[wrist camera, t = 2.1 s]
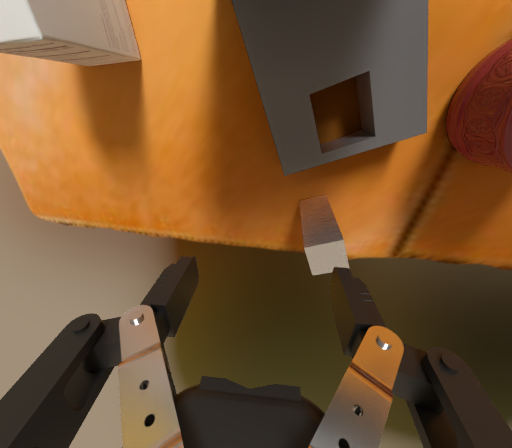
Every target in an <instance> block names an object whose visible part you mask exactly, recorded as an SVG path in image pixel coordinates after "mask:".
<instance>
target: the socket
mask: <svg viewBox="0 0 512 448" xmlns="http://www.w3.org/2000/svg"><path fill="white" fill-rule="evenodd" d="M232 3H233V7H234V10H235V13H236V17H237V20H238V23H239V26H240V30H241V33H242V36H243V40H244V43H245V46H246V50H247V53H248V56H249V60H250V63H251V66H252V70H253V73H254V76H255V80H256V83H257V86H258V90H259V93H260V96H261V99H262V103H263V106H264V109H265V113H266V116H267V119H268V123H269V126H270V129H271V133H272V136H273V139H274V143H275V146H276V149H277V153H278V156H279V159H280V162H281V166H282V169H283V172H284V176H286V175H289V174H293V173H296V172H299V171H302V170H306V169H309V168H312V167H316V166H319V165H322V164H325V163H329V162H332V161H335V160H339V159H342V158H345V157H348V156H352V155H355V154H358V153H361V152H365V151H368V150H371V149H375V148H378V147H381V146H384V145H388V144H391V143H394V142H398V141H401V140H404V139H407V138H411V137H414V136H417V135H421V134H424V133H427V65H428V0H232ZM352 77H355V78H356V86H357V94H358V103H359V111H360V119H361V128H362V131H359V132H356V133H353V134H350V135H347V136H344V137H341V138H338V139H335V140H332V141H329V142H326V143H323V144H320V143H319V138H318V133H317V128H316V124H315V119H314V114H313V109H312V105H311V100H310V94H312V93H315V92H317V91H320V90H322V89H325V88H327V87H330V86H332V85H335V84H337V83H340V82H342V81H345V80H347V79H350V78H352Z"/></svg>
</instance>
